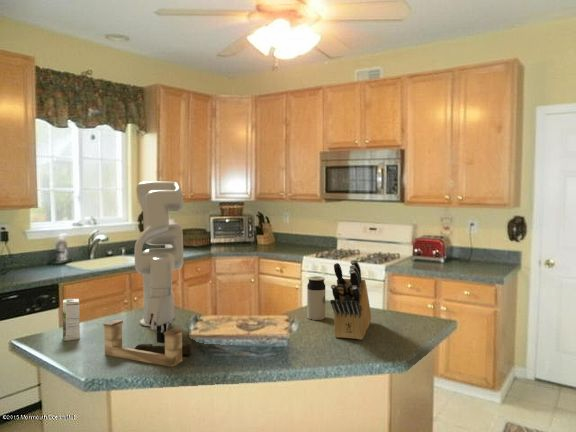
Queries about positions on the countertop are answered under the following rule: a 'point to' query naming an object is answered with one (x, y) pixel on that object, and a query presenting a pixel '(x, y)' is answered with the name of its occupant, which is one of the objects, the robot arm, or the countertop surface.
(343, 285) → the knife block
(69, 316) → the syrup box
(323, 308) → the travel mug
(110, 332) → the wooden u-shaped stand
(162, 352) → the hand tool
